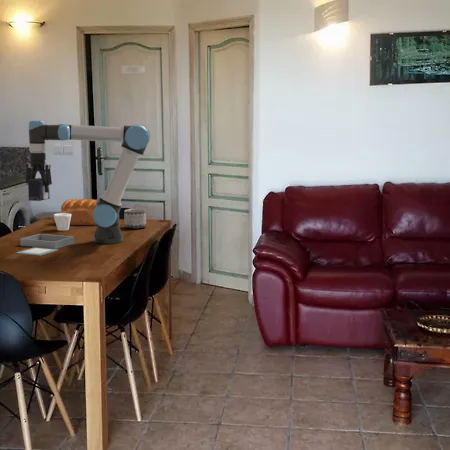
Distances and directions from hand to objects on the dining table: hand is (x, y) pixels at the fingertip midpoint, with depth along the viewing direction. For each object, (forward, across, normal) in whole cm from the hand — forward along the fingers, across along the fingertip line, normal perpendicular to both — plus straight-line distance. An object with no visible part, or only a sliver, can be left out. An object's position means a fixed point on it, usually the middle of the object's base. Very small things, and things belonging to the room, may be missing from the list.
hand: (39, 198), depth 328 cm
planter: (+25, -13, -69) cm, 75 cm away
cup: (+25, +21, -44) cm, 55 cm away
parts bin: (+25, +2, -7) cm, 26 cm away
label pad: (+25, -6, +10) cm, 27 cm away
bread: (+25, +24, -68) cm, 77 cm away
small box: (+1, 0, 0) cm, 1 cm away
